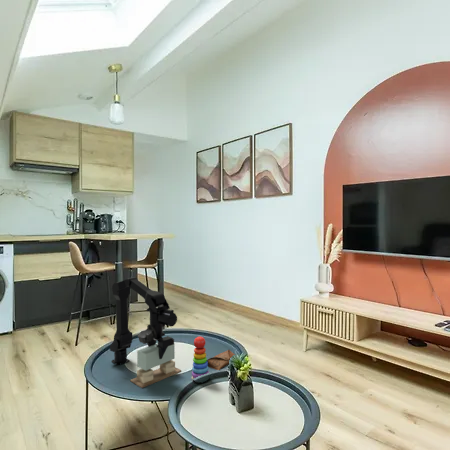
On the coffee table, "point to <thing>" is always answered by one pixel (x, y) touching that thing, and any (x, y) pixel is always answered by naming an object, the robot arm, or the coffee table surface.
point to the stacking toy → (199, 358)
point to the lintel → (154, 356)
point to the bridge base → (155, 374)
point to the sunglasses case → (220, 360)
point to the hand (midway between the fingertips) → (156, 356)
